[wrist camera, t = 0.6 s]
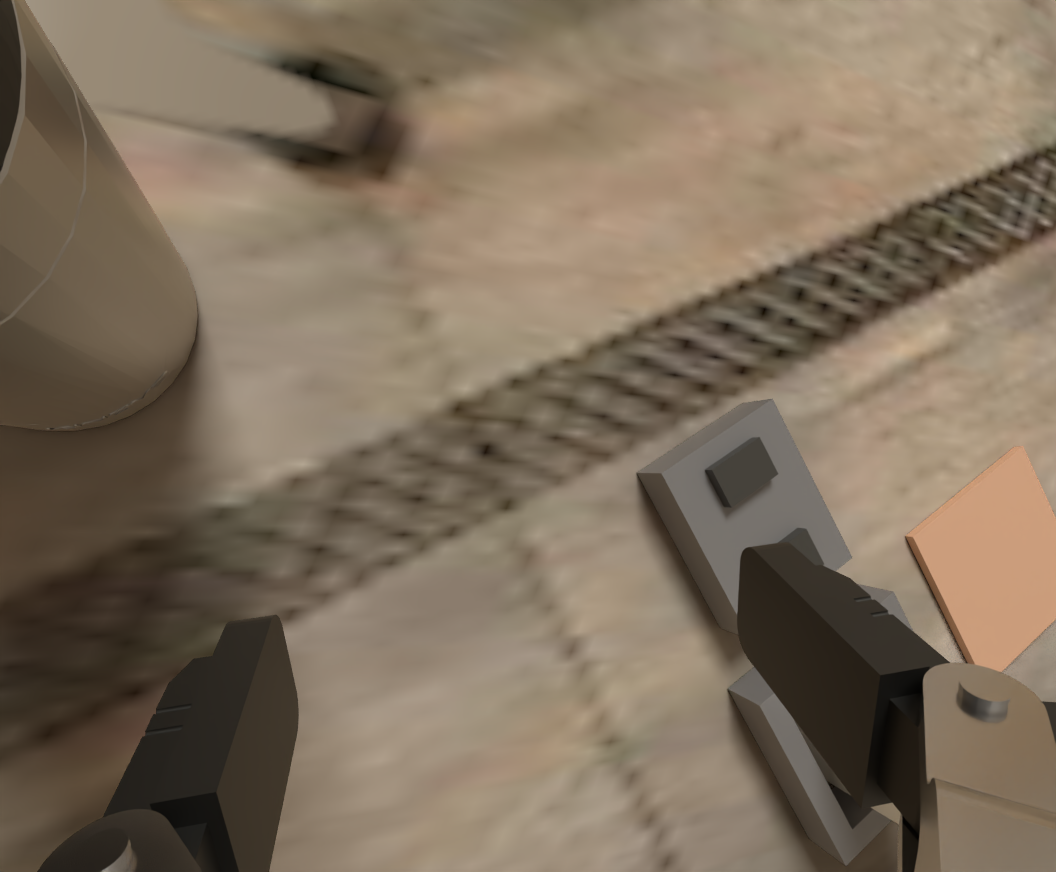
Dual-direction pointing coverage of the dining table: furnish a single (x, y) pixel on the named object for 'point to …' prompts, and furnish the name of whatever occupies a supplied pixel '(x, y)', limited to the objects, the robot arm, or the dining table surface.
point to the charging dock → (714, 562)
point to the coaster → (993, 561)
